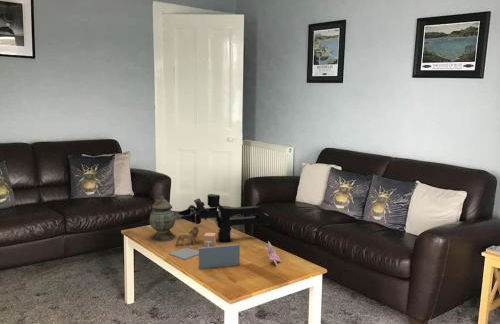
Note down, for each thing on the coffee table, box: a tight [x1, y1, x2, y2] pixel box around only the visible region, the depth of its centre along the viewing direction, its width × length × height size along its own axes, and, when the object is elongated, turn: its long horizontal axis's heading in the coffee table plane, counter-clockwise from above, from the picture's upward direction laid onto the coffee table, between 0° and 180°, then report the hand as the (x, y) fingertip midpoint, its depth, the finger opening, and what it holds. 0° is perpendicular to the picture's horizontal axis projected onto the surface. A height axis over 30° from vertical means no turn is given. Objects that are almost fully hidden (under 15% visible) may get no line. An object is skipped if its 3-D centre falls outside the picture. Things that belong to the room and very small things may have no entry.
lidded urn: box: [149, 195, 177, 242], centre depth 262 cm, size 14×14×25 cm
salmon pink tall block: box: [203, 232, 217, 247], centre depth 227 cm, size 5×5×14 cm
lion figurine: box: [175, 226, 200, 247], centre depth 253 cm, size 15×5×9 cm, turn 129°
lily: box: [263, 240, 282, 266], centre depth 227 cm, size 12×12×10 cm
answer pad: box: [168, 247, 199, 261], centre depth 238 cm, size 12×12×1 cm
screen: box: [198, 243, 241, 270], centre depth 221 cm, size 20×2×10 cm, turn 107°
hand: (179, 215), depth 250 cm, fingers open, 9 cm apart
